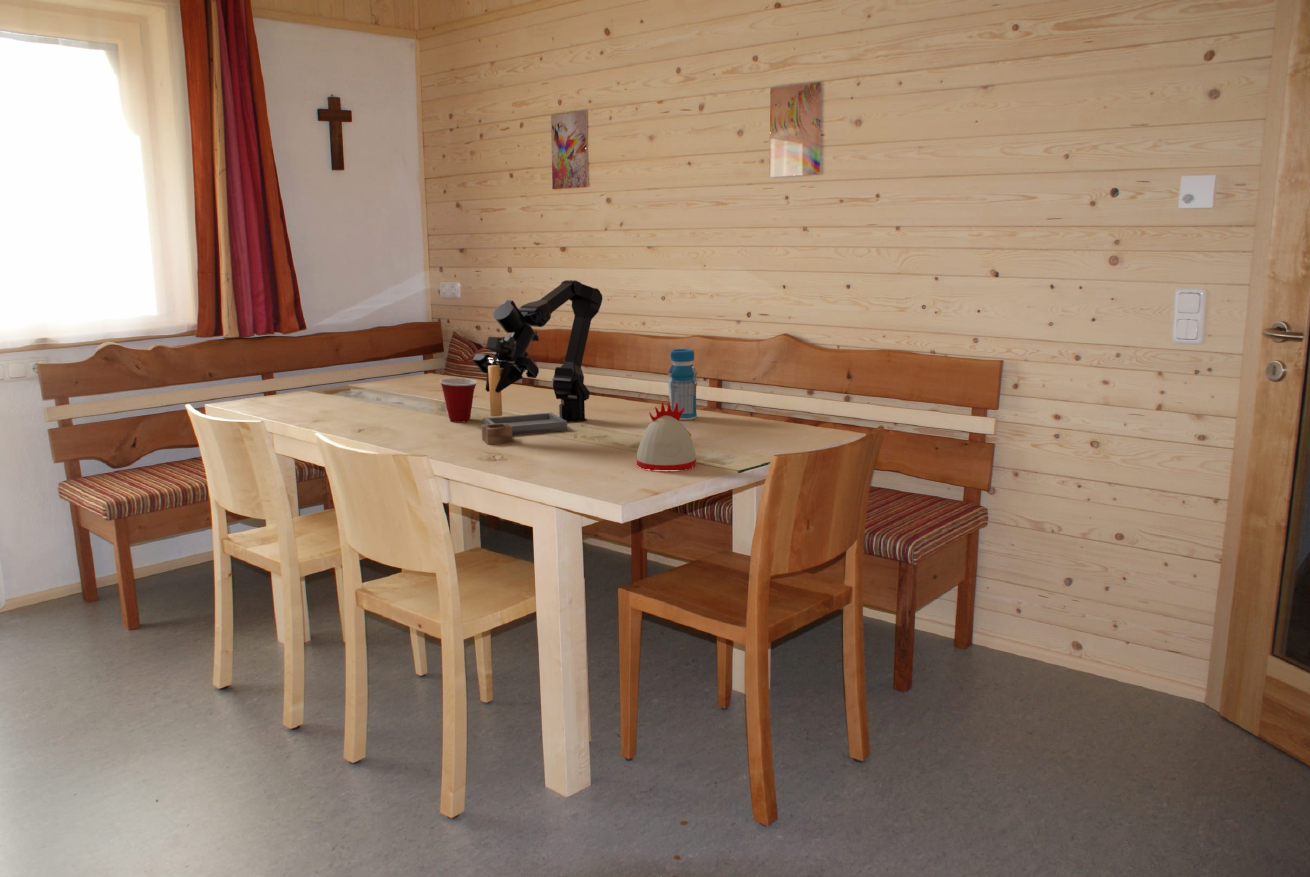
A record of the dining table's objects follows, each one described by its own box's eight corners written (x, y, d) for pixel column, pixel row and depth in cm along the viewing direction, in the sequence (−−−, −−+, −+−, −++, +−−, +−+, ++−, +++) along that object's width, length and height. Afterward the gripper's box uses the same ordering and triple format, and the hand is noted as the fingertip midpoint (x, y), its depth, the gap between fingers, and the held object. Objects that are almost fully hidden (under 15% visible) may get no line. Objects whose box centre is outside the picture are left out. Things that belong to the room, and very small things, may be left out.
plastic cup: (470, 424, 279) (468, 383, 276) (435, 423, 281) (433, 382, 278) (484, 417, 289) (483, 377, 287) (450, 416, 291) (448, 376, 289)
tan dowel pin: (500, 413, 257) (498, 364, 254) (503, 415, 254) (501, 366, 251) (489, 414, 256) (486, 365, 253) (492, 416, 253) (489, 367, 250)
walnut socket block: (506, 437, 260) (505, 422, 260) (512, 442, 254) (512, 427, 254) (482, 439, 258) (481, 424, 257) (487, 444, 252) (487, 429, 251)
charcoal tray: (551, 421, 283) (551, 412, 282) (567, 430, 269) (567, 421, 268) (483, 426, 275) (483, 418, 275) (496, 436, 262) (495, 427, 261)
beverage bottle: (680, 422, 279) (679, 352, 275) (662, 417, 286) (661, 349, 281) (703, 418, 284) (703, 350, 280) (685, 414, 290) (684, 347, 286)
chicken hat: (699, 471, 222) (699, 406, 219) (638, 473, 221) (638, 408, 218) (692, 457, 236) (691, 396, 233) (635, 459, 235) (634, 397, 232)
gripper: (475, 323, 258) (448, 370, 251) (529, 326, 248) (503, 375, 242) (496, 349, 266) (471, 395, 260) (550, 353, 256) (525, 401, 250)
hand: (491, 391), depth 252 cm, fingers closed on tan dowel pin, 3 cm apart
